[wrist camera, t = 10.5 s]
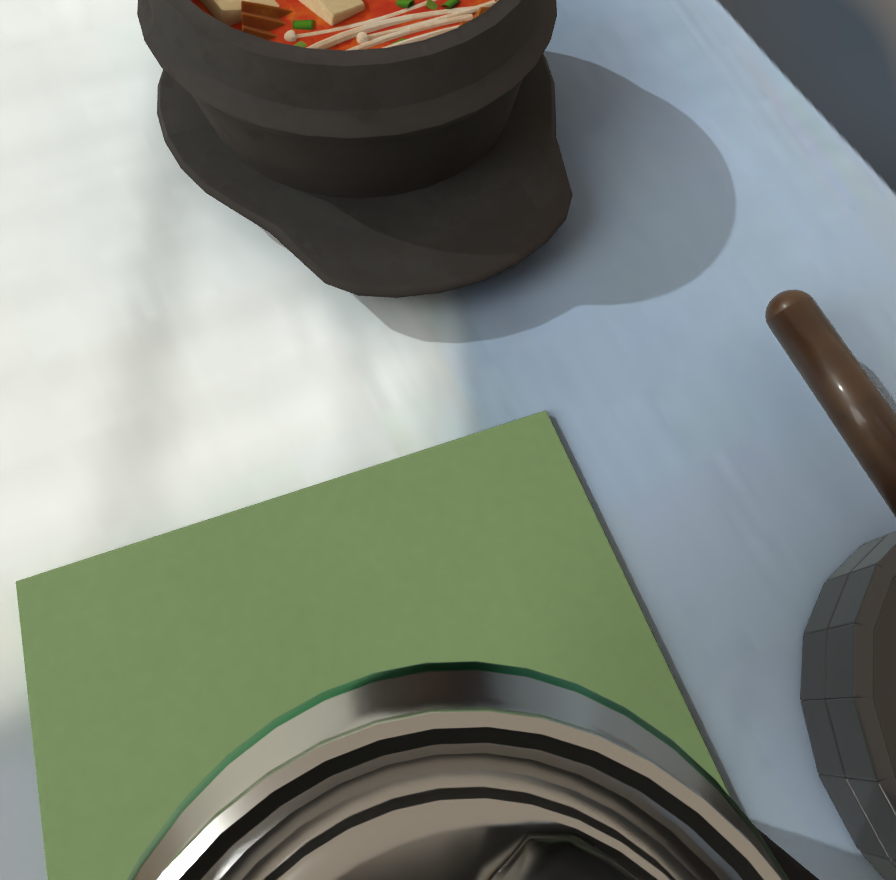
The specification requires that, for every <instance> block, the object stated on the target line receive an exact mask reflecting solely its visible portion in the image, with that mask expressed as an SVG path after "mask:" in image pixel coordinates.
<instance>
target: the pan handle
mask: <svg viewBox="0 0 896 880" xmlns="http://www.w3.org/2000/svg"><path fill="white" fill-rule="evenodd" d="M765 318H766V322H767V324H768V326H769V328H770V329H771V331H772V332H773V334H774V335H775V337H776V338H777V340H778V341H779V343H780V344H781V346H782V347H783V349H784V350H785V352H786V353H787V355H788V356H789V358H790V359H791V361H792V362H793V364H794V365H795V367H796V368H797V370H798V371H799V373H800V374H801V376H802V377H803V379H804V380H805V382H806V383H807V385H808V386H809V388H810V389H811V391H812V392H813V394H814V395H815V397H816V398H817V400H818V401H819V403H820V404H821V406H822V407H823V409H824V410H825V412H826V413H827V415H828V416H829V418H830V419H831V421H832V422H833V424H834V425H835V427H836V428H837V430H838V431H839V433H840V434H841V436H842V437H843V439H844V440H845V442H846V443H847V445H848V446H849V448H850V449H851V451H852V452H853V454H854V455H855V457H856V458H857V460H858V461H859V463H860V464H861V466H862V467H863V469H864V470H865V472H866V473H867V475H868V476H869V478H870V479H871V481H872V482H873V484H874V485H875V487H876V488H877V490H878V491H879V493H880V494H881V496H882V497H883V499H884V500H885V502H886V503H887V505H888V507H889V508H890V510H891V511H892V513H893V514H894V516H895V517H896V414H895V413H894V411H893V410H892V409H891V407H890V406H889V404H888V403H887V402H886V400H885V399H884V397H883V396H882V395H881V393H880V392H879V390H878V389H877V388H876V386H875V385H874V383H873V382H872V381H871V379H870V378H869V376H868V375H867V373H866V372H865V371H864V369H863V368H862V366H861V365H860V364H859V362H858V361H857V359H856V358H855V357H854V355H853V354H852V352H851V351H850V350H849V348H848V347H847V345H846V344H845V343H844V341H843V340H842V338H841V337H840V336H839V334H838V333H837V331H836V330H835V329H834V327H833V326H832V324H831V323H830V321H829V320H828V319H827V317H826V316H825V314H824V313H823V312H822V310H821V309H820V307H819V306H818V305H817V303H816V302H815V300H814V299H813V298H812V297H811V296H810V295H809V294H807V293H806V292H803V291H800V290H787V291H784V292H781V293H779V294H778V295H776V296H775V297H774V298H773V299H772V300H771V301H770V302H769V304H768V306H767V308H766V313H765Z"/></svg>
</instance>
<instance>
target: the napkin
mask: <svg viewBox="0 0 896 880" xmlns="http://www.w3.org/2000/svg"><path fill="white" fill-rule="evenodd" d="M16 588H17V597H18V606H19V616H20V625H21V634H22V644H23V653H24V662H25V672H26V681H27V690H28V700H29V709H30V718H31V728H32V737H33V747H34V756H35V765H36V775H37V784H38V793H39V803H40V812H41V821H42V831H43V840H44V849H45V859H46V868H47V877H48V880H127V879H128V877H129V876H130V874H131V872H132V870H133V869H134V867H135V865H136V863H137V862H138V860H139V858H140V856H141V855H142V854H143V852H144V851H145V850H146V848H147V847H148V846H149V844H150V843H151V842H152V840H153V839H154V838H155V836H156V835H157V834H158V832H159V831H160V830H161V828H162V827H163V826H164V824H165V823H166V822H167V820H168V819H169V818H170V816H171V815H172V814H173V812H174V811H175V810H176V808H177V807H178V806H179V804H180V803H181V802H182V801H183V800H184V799H185V798H186V797H187V796H188V795H189V793H190V792H191V791H192V790H193V789H194V788H195V787H196V786H197V785H198V784H199V783H200V782H201V781H202V780H203V779H204V778H205V777H206V776H207V775H208V774H209V773H210V772H211V771H212V770H213V769H214V768H215V767H216V766H217V765H218V764H219V763H220V762H221V761H222V760H223V759H224V758H225V757H226V756H227V755H228V754H229V753H231V752H232V751H233V750H234V749H236V748H237V747H238V746H240V745H241V744H242V743H244V742H245V741H246V740H247V739H249V738H250V737H251V736H253V735H254V734H255V733H257V732H258V731H259V730H260V729H262V728H263V727H264V726H266V725H267V724H268V723H270V722H271V721H272V720H273V719H275V718H277V717H278V716H280V715H282V714H284V713H286V712H287V711H289V710H291V709H293V708H295V707H296V706H298V705H300V704H302V703H303V702H305V701H307V700H309V699H311V698H312V697H314V696H316V695H318V694H320V693H321V692H323V691H326V690H328V689H331V688H334V687H336V686H339V685H342V684H344V683H347V682H350V681H353V680H355V679H358V678H361V677H363V676H366V675H369V674H371V673H374V672H379V671H384V670H389V669H395V668H400V667H405V666H410V665H415V664H420V663H426V662H461V661H479V662H486V663H494V664H501V665H508V666H516V667H523V668H528V669H531V670H535V671H538V672H541V673H544V674H548V675H551V676H554V677H557V678H561V679H564V680H567V681H570V682H574V683H577V684H579V685H581V686H583V687H585V688H587V689H589V690H591V691H593V692H595V693H597V694H599V695H601V696H603V697H605V698H607V699H609V700H612V701H614V702H616V703H618V704H620V705H622V706H624V707H626V708H627V709H629V710H630V711H631V712H633V713H634V714H636V715H637V716H639V717H640V718H642V719H643V720H644V721H646V722H647V723H649V724H650V725H652V726H653V727H655V728H656V729H658V730H659V731H660V732H662V733H663V734H665V735H666V736H668V737H669V738H671V739H672V740H673V741H674V742H675V743H676V744H677V745H679V746H680V747H681V748H682V749H683V750H684V751H685V752H686V753H687V754H688V755H689V756H690V757H692V758H693V759H694V760H695V761H696V762H697V763H698V764H699V765H700V766H701V767H702V768H703V769H705V770H706V771H707V772H708V773H709V774H710V775H711V776H712V777H713V778H714V779H715V780H716V781H717V782H718V783H719V784H720V785H721V787H722V788H723V789H724V790H725V791H726V793H727V794H728V795H729V793H728V791H727V789H726V786H725V784H724V782H723V780H722V778H721V776H720V774H719V772H718V770H717V768H716V766H715V763H714V761H713V759H712V757H711V755H710V753H709V751H708V749H707V747H706V745H705V742H704V740H703V738H702V736H701V734H700V732H699V730H698V728H697V726H696V724H695V722H694V719H693V717H692V715H691V713H690V711H689V709H688V707H687V705H686V703H685V701H684V698H683V696H682V694H681V692H680V690H679V688H678V686H677V684H676V682H675V680H674V678H673V675H672V673H671V671H670V669H669V667H668V665H667V663H666V661H665V659H664V657H663V654H662V652H661V650H660V648H659V646H658V644H657V642H656V640H655V638H654V636H653V634H652V631H651V629H650V627H649V625H648V623H647V621H646V619H645V617H644V615H643V613H642V610H641V608H640V606H639V604H638V602H637V600H636V598H635V596H634V594H633V592H632V590H631V587H630V585H629V583H628V581H627V579H626V577H625V575H624V573H623V571H622V569H621V566H620V564H619V562H618V560H617V558H616V556H615V554H614V552H613V550H612V548H611V545H610V543H609V541H608V539H607V537H606V535H605V533H604V531H603V529H602V527H601V525H600V522H599V520H598V518H597V516H596V514H595V512H594V510H593V508H592V506H591V504H590V501H589V499H588V497H587V495H586V493H585V491H584V489H583V487H582V485H581V483H580V481H579V478H578V476H577V474H576V472H575V470H574V468H573V466H572V464H571V462H570V460H569V457H568V455H567V453H566V451H565V449H564V447H563V445H562V443H561V441H560V439H559V437H558V434H557V432H556V430H555V428H554V426H553V424H552V422H551V420H550V418H549V416H548V413H547V411H543V412H540V413H537V414H533V415H530V416H527V417H524V418H521V419H518V420H515V421H512V422H509V423H506V424H503V425H499V426H496V427H493V428H490V429H487V430H484V431H481V432H478V433H475V434H472V435H468V436H465V437H462V438H459V439H456V440H453V441H450V442H447V443H444V444H441V445H437V446H434V447H431V448H428V449H425V450H422V451H419V452H416V453H413V454H410V455H407V456H403V457H400V458H397V459H394V460H391V461H388V462H385V463H382V464H379V465H376V466H372V467H369V468H366V469H363V470H360V471H357V472H354V473H351V474H348V475H345V476H341V477H338V478H335V479H332V480H329V481H326V482H323V483H320V484H317V485H314V486H310V487H307V488H304V489H301V490H298V491H295V492H292V493H289V494H286V495H283V496H280V497H276V498H273V499H270V500H267V501H264V502H261V503H258V504H255V505H252V506H249V507H245V508H242V509H239V510H236V511H233V512H230V513H227V514H224V515H221V516H218V517H214V518H211V519H208V520H205V521H202V522H199V523H196V524H193V525H190V526H187V527H184V528H180V529H177V530H174V531H171V532H168V533H165V534H162V535H159V536H156V537H153V538H149V539H146V540H143V541H140V542H137V543H134V544H131V545H128V546H125V547H122V548H118V549H115V550H112V551H109V552H106V553H103V554H100V555H97V556H94V557H91V558H87V559H84V560H81V561H78V562H75V563H72V564H69V565H66V566H63V567H60V568H57V569H53V570H50V571H47V572H44V573H41V574H38V575H35V576H32V577H29V578H26V579H22V580H19V581H16ZM729 796H730V795H729Z"/></svg>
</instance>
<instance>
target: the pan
mask: <svg viewBox="0 0 896 880" xmlns="http://www.w3.org/2000/svg"><path fill="white" fill-rule="evenodd" d="M800 700H802V701H801V705H802V709H803V713H804V718H805V722H806V726H807V730H808V734H809V738H810V742H811V746H812V750H813V754H814V759H815V763H816V767H817V771H818V773H819V777H820V779H821V781H822V783H823V785H824V786H825V788H826V790H827V792H828V794H829V796H830V798H831V800H832V802H833V803H834V805H835V807H836V809H837V811H838V813H839V815H840V817H841V819H842V820H843V822H844V824H845V826H846V828H847V830H848V832H849V834H850V836H851V837H852V839H853V841H854V843H855V845H856V847H857V848H858V849H859V850H860V851H861V853H862V854H863V855H864V856H865V858H866V859H867V860H868V861H869V862H870V863H871V864H872V866H873V867H874V868H875V869H876V870H877V871H878V872H879V873H880V875H881V876H882V877H883V878H884V879H885V880H896V531H894V532H892V533H890V534H887V535H885V536H882V537H880V538H877V539H875V540H872V541H870V542H867V543H865V544H863V545H862V546H860V547H859V548H858V549H857V550H856V551H855V552H854V553H853V554H852V555H851V556H850V557H849V558H848V559H847V560H846V561H845V562H844V563H843V564H842V565H841V566H840V567H839V568H838V569H837V570H836V571H835V572H834V573H833V574H832V575H831V576H830V577H829V578H828V579H827V581H826V582H825V583H824V585H823V587H822V590H821V592H820V595H819V597H818V600H817V602H816V604H815V607H814V609H813V612H812V614H811V617H810V619H809V621H808V624H807V626H806V629H805V631H804V635H803V649H802V670H801V691H800Z"/></svg>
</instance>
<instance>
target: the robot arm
mask: <svg viewBox="0 0 896 880" xmlns="http://www.w3.org/2000/svg"><path fill="white" fill-rule="evenodd" d="M755 828H756V827H755ZM756 829H757V828H756ZM757 830H758V829H757ZM758 831H759V833H760V835H761V836H762V838H763V839H764V841H765V842H766V844H767V846H768V847H769V849H770V850H771V852H772V853H773V855H774V857H775V858H776V860H777V861H778V863H779V864H780V866H781V867H782V869H783V871H784V872H785V874H786V875H787V877H788V878H789V880H819V879H818V878H816V877H815V876H814V875H813V874H812V873H810V872H809V871H808V870H807V869H806V868H804V867H803V866H802V865H801V864H799V863H798V862H797V861H796V860H795V859H793V858H792V857H791V856H790V855H789V854H787V853H786V852H785V851H784V850H783V849H781V848H780V847H779V846H778V845H776V844H775V843H774V842H773V841H772V840H770V839H769V838H768V837H767V836H766V835H764V834H763V833H762V832H761V831H760V830H758Z"/></svg>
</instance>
